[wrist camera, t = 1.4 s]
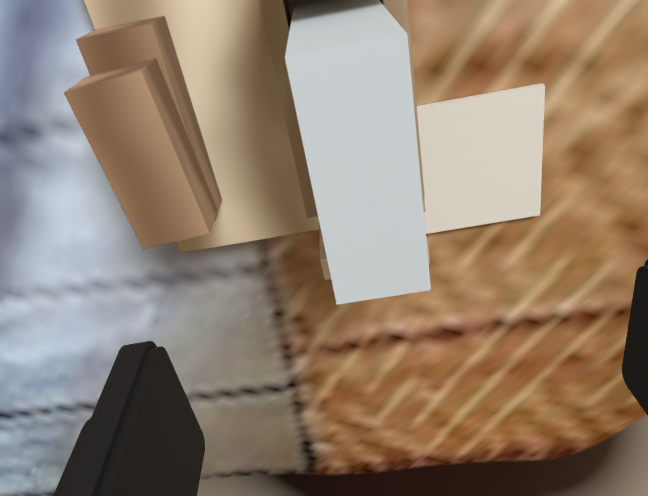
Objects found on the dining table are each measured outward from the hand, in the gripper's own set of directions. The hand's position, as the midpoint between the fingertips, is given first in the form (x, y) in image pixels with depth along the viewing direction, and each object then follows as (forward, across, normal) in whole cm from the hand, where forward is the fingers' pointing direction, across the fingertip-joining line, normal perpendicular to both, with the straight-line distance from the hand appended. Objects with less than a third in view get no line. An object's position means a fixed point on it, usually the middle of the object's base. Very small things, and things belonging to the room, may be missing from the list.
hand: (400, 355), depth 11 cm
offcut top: (+18, +9, 0) cm, 20 cm away
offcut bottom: (+20, +9, 0) cm, 22 cm away
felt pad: (+21, -7, +6) cm, 23 cm away
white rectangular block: (+20, 0, 0) cm, 20 cm away
